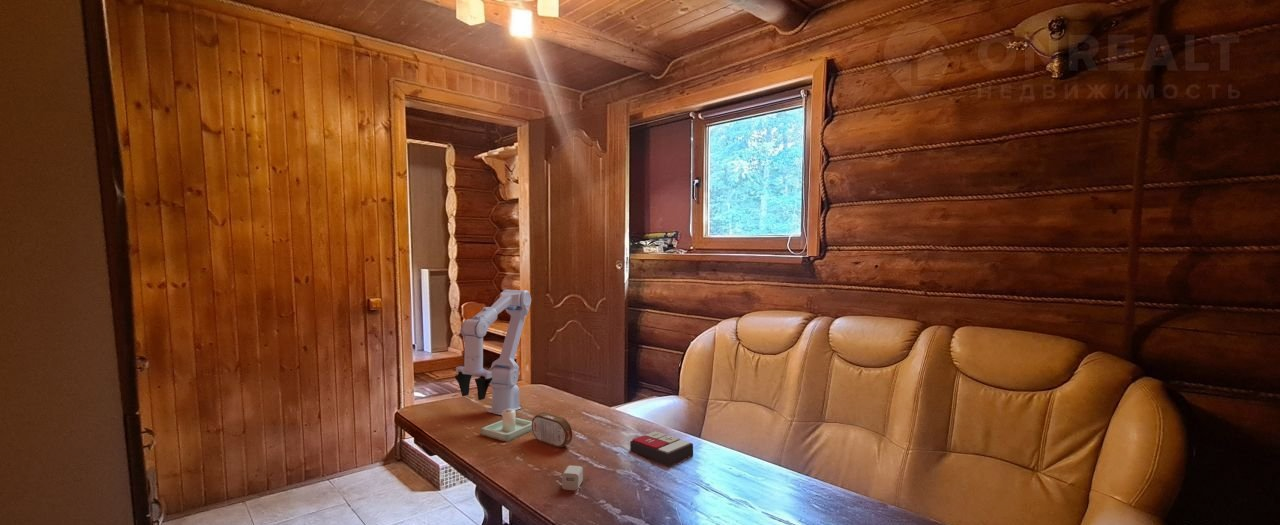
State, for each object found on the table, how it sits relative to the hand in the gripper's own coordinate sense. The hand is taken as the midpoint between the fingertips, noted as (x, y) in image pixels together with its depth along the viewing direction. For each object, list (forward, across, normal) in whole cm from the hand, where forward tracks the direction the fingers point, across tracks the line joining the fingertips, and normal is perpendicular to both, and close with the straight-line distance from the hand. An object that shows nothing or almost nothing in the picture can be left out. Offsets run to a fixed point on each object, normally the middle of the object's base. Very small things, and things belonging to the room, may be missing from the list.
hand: (473, 397), depth 158 cm
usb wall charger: (+10, +52, -14) cm, 55 cm away
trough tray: (+9, +14, +2) cm, 17 cm away
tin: (+10, +31, +2) cm, 33 cm away
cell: (+9, +14, +2) cm, 16 cm away
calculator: (+10, +62, +13) cm, 65 cm away
